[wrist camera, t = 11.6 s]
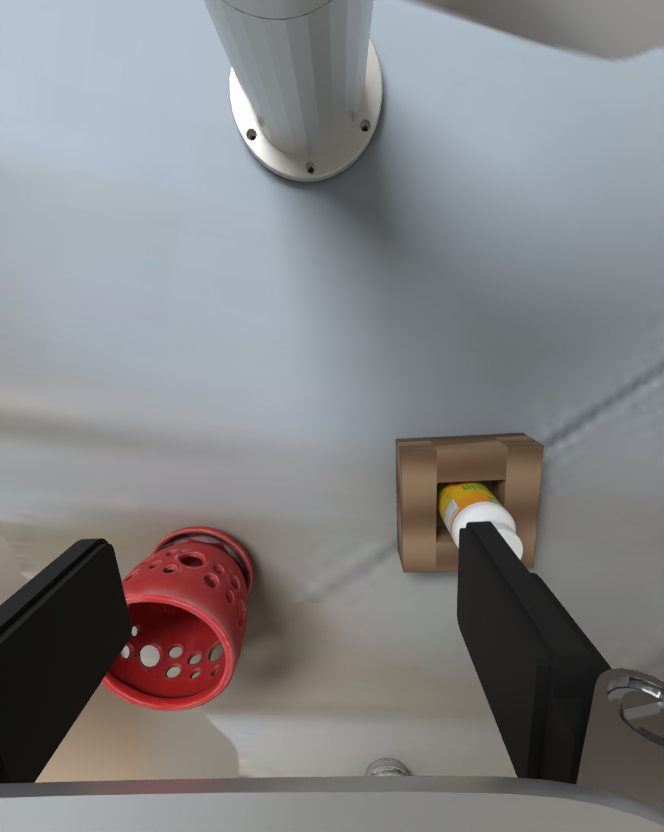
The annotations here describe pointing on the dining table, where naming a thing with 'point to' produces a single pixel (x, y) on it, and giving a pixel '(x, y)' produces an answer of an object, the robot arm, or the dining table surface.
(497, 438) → the socket block
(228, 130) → the dining table surface
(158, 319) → the dining table surface
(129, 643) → the plant pot
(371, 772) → the camera lens
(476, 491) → the supplement bottle
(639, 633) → the dining table surface
